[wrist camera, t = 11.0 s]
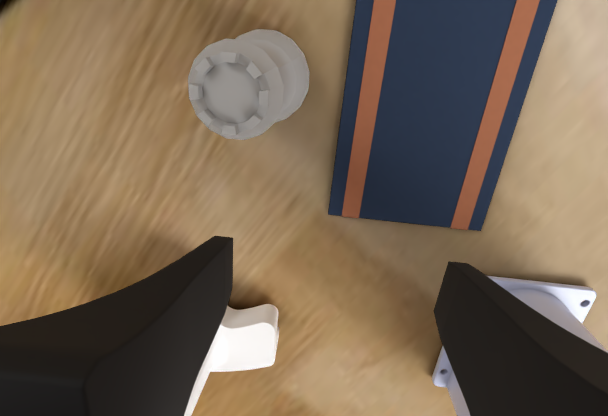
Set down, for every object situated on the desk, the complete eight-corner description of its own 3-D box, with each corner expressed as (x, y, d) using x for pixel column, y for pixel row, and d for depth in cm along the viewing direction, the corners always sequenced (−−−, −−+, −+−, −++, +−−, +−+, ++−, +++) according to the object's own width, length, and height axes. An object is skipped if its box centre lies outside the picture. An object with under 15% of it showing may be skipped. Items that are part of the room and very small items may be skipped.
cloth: (479, 228, 21) (481, 231, 21) (328, 212, 21) (328, 214, 21) (581, -85, 15) (587, -88, 15) (370, -106, 15) (370, -108, 15)
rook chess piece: (281, 10, 17) (249, -20, 10) (325, 94, 19) (325, 123, 11) (207, 59, 18) (128, 65, 11) (254, 135, 20) (212, 186, 12)
